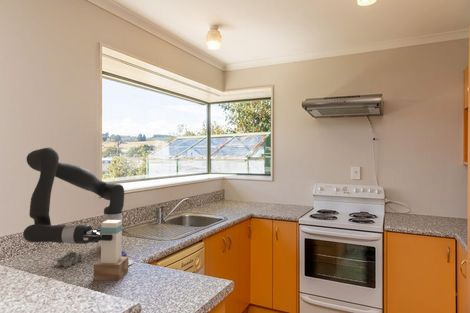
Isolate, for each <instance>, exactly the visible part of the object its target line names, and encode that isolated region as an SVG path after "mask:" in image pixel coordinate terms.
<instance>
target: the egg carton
mask: <svg viewBox="0 0 470 313" xmlns="http://www.w3.org/2000/svg"><path fill="white" fill-rule="evenodd" d="M84 255H85V254H84V253H78V254H77V252H76V251H73V250H71V251H68V252H67V253H66V254H63V256H61V257H58V259H55V261H56V262H57V265H56V266H57V267H60V266H63V267H65V268H66V267H72V265H73V264H75V265H76V264H77V263H78V262H82V261H83V256H84Z"/></svg>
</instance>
